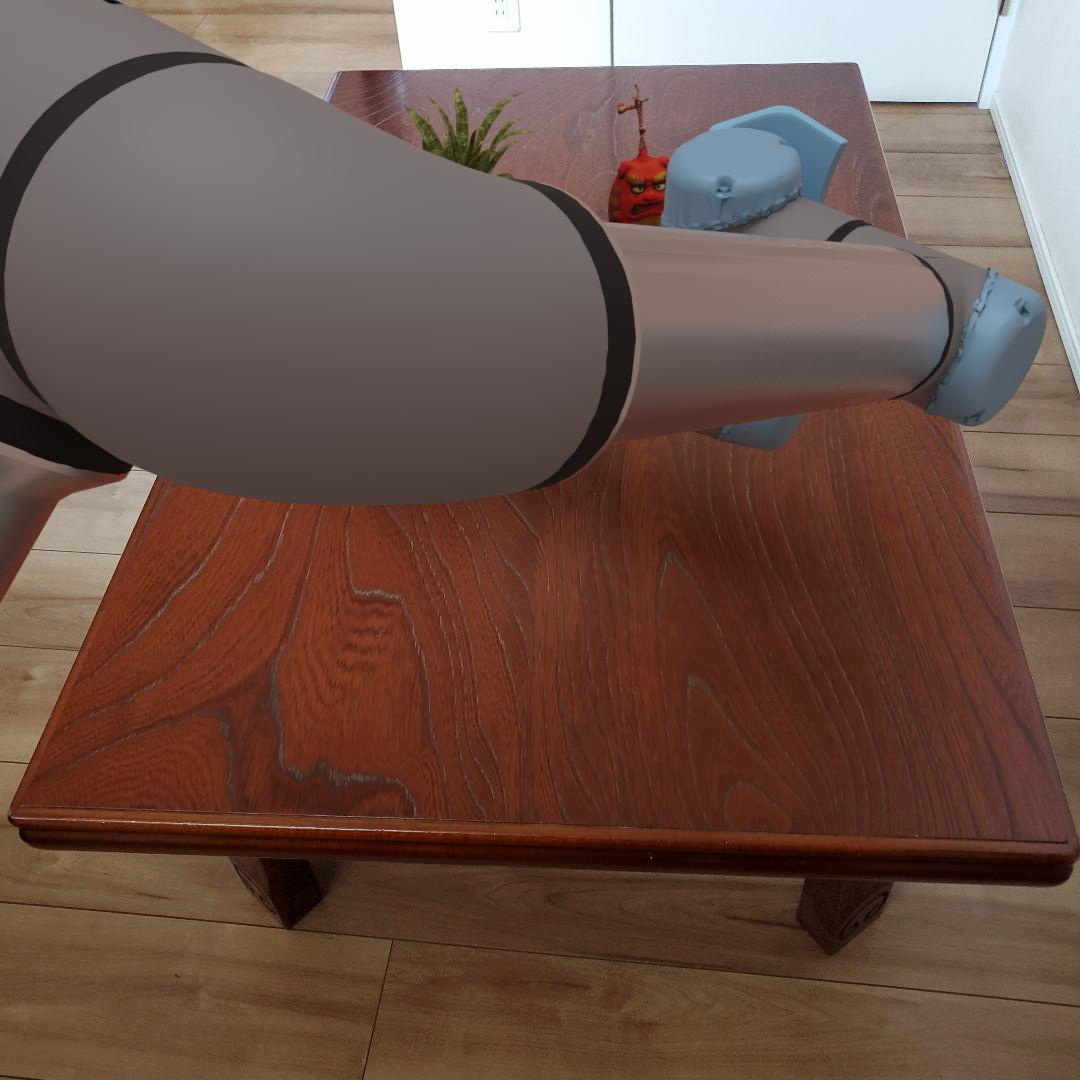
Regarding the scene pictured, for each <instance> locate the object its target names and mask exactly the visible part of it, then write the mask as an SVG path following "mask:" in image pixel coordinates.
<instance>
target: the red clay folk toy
mask: <svg viewBox="0 0 1080 1080" xmlns="http://www.w3.org/2000/svg"><path fill="white" fill-rule="evenodd" d="M634 87H635V90H636V93H637V94H636V96H632V97H631V98H632V100H634V104H624V103H623V102H618V104H617V111H616V113H617V115H620V116H621V115H623V114H625V113H626V112H627V111H632V110H636V113H637V118H638V126H639V127H638V133H639V141H638V142H639V143H638V149H637V151H638V154H637V156H636V157H634V158H632V159H631V160H624V161H621V162H620V164H619V167H618V168H617V173H616V176H615V177H614V180H613V182H612V185H611V188H610V191H609V195H608V202H607V203H608V206H607V217H608V222H611V223H623V224H634V225H646V226H658V227H660V221H661V215H662V213H663V212H664V201H665V188H666V175H667V167H668V163H669V161H670V159H669V157H666V156H659V157H653V156H650V155H649V154H648V146H647V143H646V139H645V134H646V131H647V127H646V125H645V124H644V110H643V109H644V107H643V103H645V102H648V101H649V97H647V98H644V99H641V98H640V97H641V89H640V86H639V84H637V83H636V84H634Z"/></svg>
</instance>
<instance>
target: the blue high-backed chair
mask: <svg viewBox="0 0 1080 1080" xmlns="http://www.w3.org/2000/svg"><path fill="white" fill-rule="evenodd" d="M724 128H752V129H758V130H763V131H767V132H770V133H773V134H775V135H778V136H780V137H781V138H783V139H784V140H786V141H787V144H788V146H790V147H792V148H794V149H795V150H796V151H797V152H798V154H799V157H800V161H801V178H802V180H803V182H802V185H803V187H802V192H801V193H800V195H801V196H803V197H804V198H807V199H810V200H812V201H815V202H817V203H820V204H822V205H825V203H826V199H827V194H828V191H829V190H828V189H829V186H830V184H831V181H832V178H833V176H834V173H835V171H836V169H837V166H838V164H839V162H840V161H841V159H842V156H843V155H844V153H845V151H846V148H847V147H848V143H849V141H848V140H847V139H846V138H844V137H842V136H841V135H839V134H838V133H837V132H835V131H833V130H832V129H829V128H828V127H827V126H825V125H823V124H821V123H820V122H818V121H817V120H815V119H813V118H812V117H810V116H809V115H807V114H805V113H804V112H802V111H801V110H799V109H797V108H795V107H792V106H789V105H773V106H769V107H766V108H763V109H759V110H756V111H753V112H750V113H747V114H743V115H740V116H737V117H733V118H730V119H726V120H724V121H721V122H718V123H715V124H714V125H712V126H711V127H710V128H709V130H708V132H709V131H713V130H717V129H724Z"/></svg>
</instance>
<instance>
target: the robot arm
mask: <svg viewBox="0 0 1080 1080" xmlns="http://www.w3.org/2000/svg"><path fill="white" fill-rule="evenodd" d="M669 160H670V161H669V163H668V167H667V175H666V188H665V201H664V212H663V213H662V215H661V221H660V227H658V226H646V225H634V224H623V223H611V222H609V221H603V220H602V219H601V218H600V216H599V215H598V214H597V213H596V211H594V210H593V209H592V208H591V207H590V206H588V205H587V204H586V203H585V202H583V201H582V200H581V199H580V198H578V197H577V196H575V195H574V194H571V193H570V192H568V191H567V190H565V189H563V188H560V187H557V186H555V185H551V184H548V183H545V182H540V181H535V180H529V179H518V178H514V179H510V178H504V177H500V176H497V175H496V174H492V173H491V174H487V173H484V172H481V170H480V171H478V170H475V169H472V168H468V167H465V166H463V165H460V164H457V163H455V162H452V161H450V160H447V159H445V158H442V157H440V156H437V155H435V154H432V153H429V152H427V151H425V150H423V148H420V147H418V146H416V145H414V144H412V143H410V142H408V141H406V140H404V139H402V138H400V137H398V136H396V135H394V134H391V133H390V132H388V131H385V130H383V129H381V128H379V127H377V126H375V125H373V124H371V123H369V122H366V121H365V120H363V119H361V118H358V117H356V116H355V115H353V114H351V113H349V112H348V111H347V112H346V111H345V110H343V109H341V108H339V107H337V106H335V105H333V104H332V103H329V102H328V101H326V100H324V99H322V98H320V97H318V96H316V95H314V94H312V93H311V92H309V91H307V90H305V89H303V88H301V87H299V86H297V85H295V84H293V83H290V82H289V81H286V80H284V79H282V78H280V77H277V76H274V75H272V74H269V73H266V72H263V71H261V70H258V69H256V68H254V67H252V66H250V65H248V64H246V63H244V62H242V61H240V60H238V59H236V58H234V57H232V56H230V55H228V54H226V53H223V52H222V51H220V50H218V49H216V48H214V47H212V46H210V45H209V44H206V43H204V42H202V41H200V40H198V39H196V38H194V37H192V36H190V35H188V34H186V33H184V32H182V31H181V30H178V29H176V28H174V27H172V26H170V25H168V24H166V23H164V22H162V21H160V20H158V19H156V18H153V17H152V16H150V15H148V14H146V13H144V12H142V11H140V10H138V9H137V8H134V7H132V6H130V5H128V4H126V3H124V2H122V1H120V0H0V604H1V603H2V602H3V600H4V598H5V596H6V595H7V593H8V591H9V589H10V588H11V586H12V584H13V583H14V580H15V579H16V576H17V575H18V573H19V571H20V570H21V569H22V567H23V565H24V563H25V561H26V560H27V558H28V556H29V554H30V553H31V550H32V549H33V547H34V546H35V544H36V542H37V540H38V538H39V536H40V535H41V533H42V531H43V530H44V528H45V526H46V525H47V523H48V521H49V519H50V518H51V516H52V514H53V512H54V511H55V509H56V507H57V505H58V503H59V502H60V501H62V500H63V499H66V498H67V497H69V496H71V495H72V494H76V493H80V492H84V491H88V490H92V489H96V488H100V487H104V486H108V485H110V484H112V485H113V484H115V483H119V482H122V481H124V480H125V479H127V477H128V476H129V474H130V473H131V471H132V469H133V467H136V468H138V469H141V470H143V471H146V472H148V473H150V474H153V475H155V476H158V477H160V478H162V479H165V480H167V481H169V482H172V483H175V484H177V485H181V486H186V487H191V488H194V489H199V490H203V491H207V492H208V491H209V492H212V493H217V494H221V495H226V496H232V497H237V498H245V499H253V500H258V501H259V500H260V501H267V502H274V503H282V504H297V505H312V506H313V505H315V506H331V507H332V506H333V507H334V506H335V507H371V506H372V507H377V506H380V507H383V506H384V507H386V506H387V507H388V506H393V507H394V506H410V505H411V506H413V505H428V504H429V505H431V504H448V503H458V502H467V501H474V500H482V499H490V498H495V497H496V498H497V497H502V496H506V495H511V494H519V493H522V492H525V491H531V490H537V489H543V488H546V487H551V486H554V485H557V484H560V483H563V482H566V481H567V480H569V479H572V478H574V477H576V476H578V475H579V474H580V473H582V472H583V471H584V470H586V469H587V468H588V467H590V466H591V465H592V464H593V463H594V462H595V461H596V460H597V459H598V458H599V457H600V456H601V455H602V454H603V453H604V452H605V451H606V450H607V448H608V447H609V446H610V445H615V444H622V443H628V442H635V441H641V440H646V439H653V438H660V437H666V436H672V435H679V434H684V433H691V432H694V433H696V434H700V435H703V436H707V437H709V438H712V439H714V440H715V441H718V442H725V443H731V444H733V445H739V446H743V447H748V448H751V449H758V450H763V451H776V450H779V449H781V448H782V447H784V446H785V445H787V444H788V443H789V442H790V440H791V439H792V438H793V437H794V435H795V433H796V432H797V430H798V428H799V426H800V424H801V422H802V421H803V417H804V416H805V414H809V413H816V412H823V411H829V410H835V409H841V408H847V407H848V408H849V407H853V406H854V407H855V406H860V405H861V406H862V405H866V404H867V405H868V404H875V403H880V402H888V401H889V402H890V401H897V400H902V401H906V402H909V403H911V404H912V405H914V406H917V407H918V408H921V409H922V410H923V413H925V414H927V415H928V416H937V417H939V418H942V419H945V420H947V421H950V422H952V423H955V424H958V425H961V426H964V427H969V428H971V427H972V428H973V427H977V426H981V425H984V424H986V423H987V422H989V421H991V420H992V419H993V418H994V417H995V416H997V415H998V414H999V413H1000V412H1001V411H1002V410H1003V409H1004V408H1005V407H1006V406H1007V405H1008V404H1009V402H1010V401H1011V400H1012V399H1013V397H1014V396H1015V394H1016V393H1017V391H1018V390H1019V388H1020V387H1021V385H1022V384H1023V382H1024V380H1025V379H1026V377H1027V375H1028V373H1029V371H1030V370H1031V368H1032V366H1033V363H1034V362H1035V359H1036V357H1037V355H1038V353H1039V351H1040V348H1041V345H1042V343H1043V340H1044V337H1045V333H1046V330H1047V323H1048V311H1047V306H1046V303H1045V300H1044V298H1043V297H1042V295H1041V294H1040V293H1039V292H1038V291H1036V290H1034V289H1033V288H1031V287H1029V286H1026V285H1025V284H1022V283H1020V282H1018V281H1015V280H1013V279H1011V278H1008V277H1006V276H1004V275H1002V274H1000V272H999V271H998V270H997V269H995V268H993V267H989V266H988V267H987V268H985V267H982V266H979V265H976V264H973V263H972V262H969V261H966V260H963V259H961V258H957V257H955V256H953V255H950V254H948V253H945V252H942V251H941V250H937V249H935V248H933V247H930V246H927V245H924V244H923V243H922V244H921V243H918V242H917V241H914V240H911V239H908V238H906V237H903V236H900V235H898V234H896V233H895V234H894V233H892V232H889V231H886V230H885V229H881V228H879V227H876V226H875V225H873V224H872V223H868V222H866V221H864V220H863V219H861V218H859V217H856V216H854V215H850V214H848V213H846V212H843V211H840V210H838V209H835V208H834V207H833V208H832V207H830V206H827V205H825V204H824V205H822V204H820V203H817V202H815V201H812V200H810V199H807V198H804V197H803V196H801V195H800V193H801V192H802V187H803V185H802V182H803V180H802V178H801V161H800V157H799V154H798V152H797V151H796V150H795V149H794V148H792V147H790V146H788V144H787V141H786V140H784V139H783V138H781V137H780V136H778V135H775V134H773V133H770V132H767V131H763V130H758V129H752V128H724V129H717V130H713V131H709V130H708V131H706V132H702V133H700V134H697V135H696V136H695V137H694V138H692V139H691V140H688V141H685V142H683V143H682V144H681V145H680V146H679V147H678V148H676V149H675V151H674V152H673V154H672V155H671V157H670V159H669Z"/></svg>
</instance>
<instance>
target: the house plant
mask: <svg viewBox="0 0 1080 1080" xmlns="http://www.w3.org/2000/svg"><path fill="white" fill-rule="evenodd" d="M521 94H522V92H521V93H517V94H514V95H511V96H508V97H506V98H504V99H502V100H501V101H500V102H498V103H497V104H496V105H494V107H493V108H491V110H490V111H489V113H488V114H486V117H485V118H484V120H483V121H482V123H481V125H480V126H479V127H478V128H476V129H475V130H473V132H472V133H471V135H470V138H469V133H470V132H469V115H468V114H469V113H468V108H467V107H466V104H465V102H464V100H463V97H462V94H461V91H460V89H459V88H458V86H456V87H455V90H454V108H455V129H454V127H453V124H452V121H451V120H450V118H449V116H448V115H447V114H446V113H445V111H444V110H443V109H442V108H441V106H440V105H439V104H438V103H437V102H435V100H433V99H432V98H430V96H427V99H429V100H430V102H431V104H432V105H433V106H434V108H435V109H436V110H437V111H438V113H439V114H440V116H441V118H442V120H443V123H444V125H445V128H446V132H445V135H444V139H443V145H442V142H441V140H440V138H439V137H438V135H437V133H436V131H435V129H434V128H433V126H432V125H431V124H430V117H429V116H428V115H426V119H425V118H423V117H422V116H421V115H420V114H419V113H418V112H417V111H416V110H414V108H411V107H409V106H406V105H405V104H403V106H404V108H405V110H406V111H407V113H408V114H409V117H410V118H411V119H412V121H413V122H414V124H415V126H416V128H417V130H418V131H419V134H420V135H421V137H422V142H421V146H422V149H423V150H425V151H427V152H429V153H432V154H435V155H437V156H440V157H442V158H445V159H447V160H450V161H452V162H455V163H457V164H460V165H463V166H465V167H468V168H472V169H475V170H478V171H481V172H484V173H487V174H491V175H492V172H493V170H494V168H495V167H496V166H497V163H498V162H499V160H500V159H501V158H502V156H503V155H504V154H505V153H506V151H507V150H508V149H509V148H510V147H511V146H513V145H515V144H516V143H518V142H519V141H520V139H518V140H515V141H512V142H509V143H506V144H504V145H503V146H501V147H500V148H499V149H498V150H496V148H497V146H498V145H499V144H500V143H502V142H503V141H505V140H507V139H509V138H511V137H513V136H516V135H530V134H536V132H534V131H530V130H524V129H518V130H511V131H509V132H508V130H510V128H511V127H512V126H513V125H514V124H516V123H517V122H519V121H521V120H522V119H523V117H519V118H516V119H515V118H514V119H512V120H510V121H508V122H507V123H506V124H504V125H503V126H502V128H501V129H500V130H499V131H498V132H497V133H496V135H495V137H494V138H493V140H492V142H491V144H490V146H489V149H484V150H482V147H483V144H485V143H486V142H487V141H489V140H490V138H487V139H486V137H487V135H488V134H489V131H490V129H491V127H492V126H493V124H494V122H495V120H497V118H498V117H499V116H500V114H501V113H502V112H503V110H504V108H505V107H506V106H507V105H508V104H509V103H510V102H511V101H513V100H515V99H517V97H518V96H519V95H521ZM481 150H482V151H481ZM496 176H500V177H504V178H510V179H515V177H514V176H513V175H512V174H511V173H509V172H504V173H500V174H497V175H496Z"/></svg>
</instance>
